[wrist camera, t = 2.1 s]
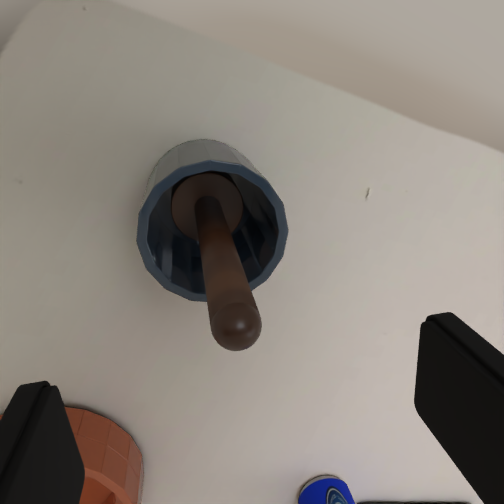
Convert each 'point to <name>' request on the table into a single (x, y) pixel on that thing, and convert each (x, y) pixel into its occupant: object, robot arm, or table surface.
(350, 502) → the beverage can
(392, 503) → the cell phone
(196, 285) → the holder
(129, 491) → the bowl
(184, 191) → the brown plunger
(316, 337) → the table surface
